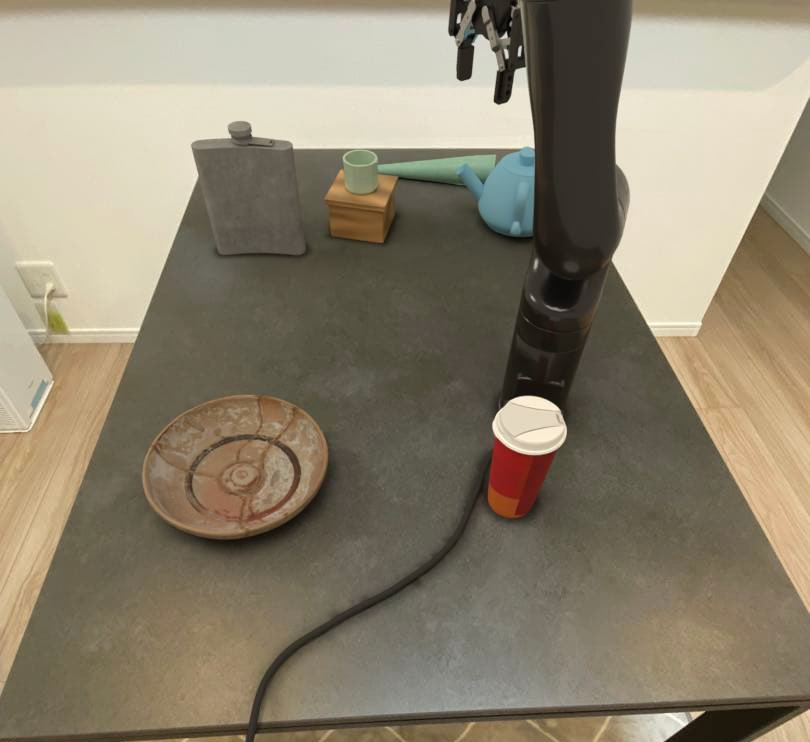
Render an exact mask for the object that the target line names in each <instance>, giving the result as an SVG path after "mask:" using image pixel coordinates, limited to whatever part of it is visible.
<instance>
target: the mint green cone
mask: <svg viewBox="0 0 810 742" xmlns="http://www.w3.org/2000/svg"><path fill="white" fill-rule="evenodd" d="M496 159H497V154H476V155H465V156H454V157H445V158H433V159H426V160H425V159H424V160H416V161H405V162H395V163H385V164H378V174H381V175H389V176H397V177H398V179H399V178H400V179H407V180H417V181H418V180H419V181H426V182H427V181H428V182H435V183H443V184H451V185H458V186H465V187H467V186H466V185H465V184H464V183H463V181H462V180H461V179H460V178H459V177H458V175H457V174H456V173H457V171H458V169H459V168H460V167H461V166H462V165H463V164H465V163H467V164H468V165H469V167H470V168H471V169H472V171H473V172H474V173H475V175H476V176H477V177H478V179H479V180H480V182H481V183H482V184H483V185H484V183H485V181H486V179H487V178H488V176H489V175H490V173H491V172H492V170H493V169H494V168H495V166H496Z"/></svg>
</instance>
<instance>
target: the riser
mask: <svg viewBox="0 0 810 742" xmlns="http://www.w3.org/2000/svg"><path fill="white" fill-rule="evenodd" d="M398 183H399V177H397V176H389V175H381V174H378V186H377V188H376V189H375V191H374V192H372V193H370V194H367V195H356V194H353V193H351V192H349V191H348V190H347V189H346V188H345V185H344V171H343V168H341V169H340V171H339V172H338V174H337V175H336V177H335V179H334V181H333V183H332V184H331V186H330V188H329V190H328V191H327V194H326V195H325V197H324V200H323V201H324V205H328V215H329V228H330V237H335V238H342V239H348V240H356V241H363V242H369V243H377V244H384V242H385V240H386V237H387V234H388V232H389V230H390V228H391V226H392V223H393V221H394V218H395V216H396V187H397V185H398Z"/></svg>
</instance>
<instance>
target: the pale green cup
mask: <svg viewBox="0 0 810 742" xmlns="http://www.w3.org/2000/svg"><path fill="white" fill-rule="evenodd" d="M378 165H379V159H378V155H377V154H376V153H375V152H374V151H371V150H368V149H353V150H349V151H347V152H345V153H344V154H343V156H342V169H343V171H344V185H345V188H346V189H347V190H348V191H349V192H351V193H353V194H356V195H367V194H370V193H372V192H374V191H375V189H376V188H377V186H378Z"/></svg>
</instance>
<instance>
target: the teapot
mask: <svg viewBox="0 0 810 742" xmlns="http://www.w3.org/2000/svg"><path fill="white" fill-rule="evenodd" d="M534 173H535V149H534V148H533V147H531V146H528V145H527V146H526V145H525V146H523V147H522V149H520V150H519V151H516V152H510V153H508V154H506V155H504V156H503V157H502V158H501V159H500V160H499V161H498V163H496V164H495V167H494V169H493V170H492V172H491V173H490V175H489V176H488V178H487V179H486V181H485V183H484V185H483V184H482V183H481V182H480V180H479V179H478V177H477V176H476V175H475V173H474V172H473V171H472V169H471V168H470V167H469V165H468V164H467V163H465V164H463V165H462V166H461V167H460V168H459V169H458V171H457V173H456V174H457V175H458V177H459V178H460V179H461V180H462V181H463V183H464V184H465V185H466V186H465V187H466V188H467V189H468V190H469V192H470V193H471V194H472V195H473V196H474V198H475V199H476V201H478V203H477V208H478V213H479V215H480V216H481V218H482V220H483V221H484V222H485V224H486V225H487V226H488V228H490V229H491V230H493V231H494V232H495V233H497V234H498V233H499V234H501V235H503V236H508V237H513V238H514V237H515V238H528V237H533V233H532V231H533V209H534Z"/></svg>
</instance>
